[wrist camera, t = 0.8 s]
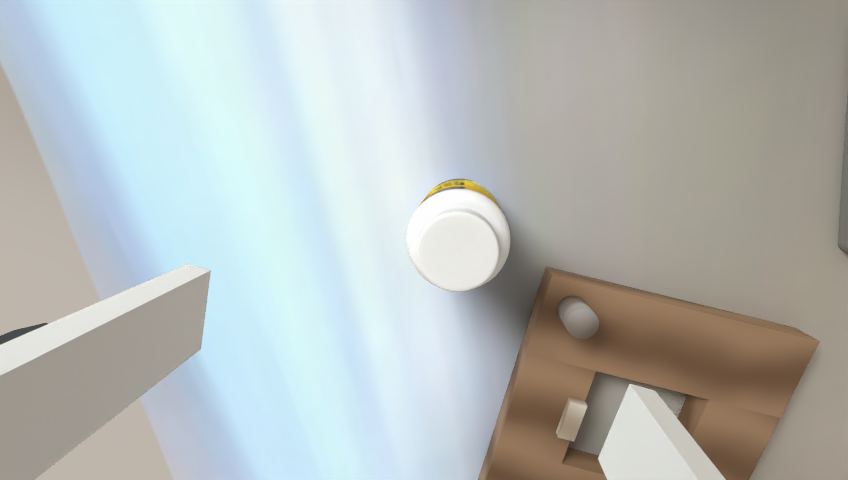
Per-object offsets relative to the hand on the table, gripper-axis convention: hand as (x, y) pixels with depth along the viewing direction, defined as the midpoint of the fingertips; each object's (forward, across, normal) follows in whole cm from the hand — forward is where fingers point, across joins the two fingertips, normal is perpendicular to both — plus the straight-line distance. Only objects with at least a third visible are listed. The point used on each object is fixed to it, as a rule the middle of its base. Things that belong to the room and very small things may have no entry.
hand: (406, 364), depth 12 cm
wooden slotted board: (+18, +17, -10) cm, 27 cm away
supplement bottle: (+18, +1, +2) cm, 18 cm away
